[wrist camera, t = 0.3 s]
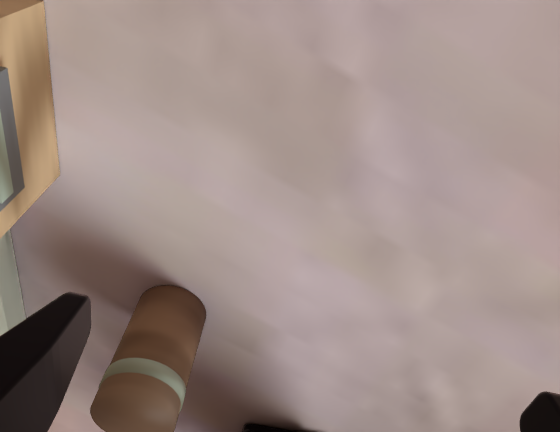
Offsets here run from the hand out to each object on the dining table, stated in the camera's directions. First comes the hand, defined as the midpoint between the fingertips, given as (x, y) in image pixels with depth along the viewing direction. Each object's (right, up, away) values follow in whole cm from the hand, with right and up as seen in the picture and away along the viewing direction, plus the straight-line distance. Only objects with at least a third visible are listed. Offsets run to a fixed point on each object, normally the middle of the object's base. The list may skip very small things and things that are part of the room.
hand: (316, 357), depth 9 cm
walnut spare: (-7, -3, +19) cm, 20 cm away
